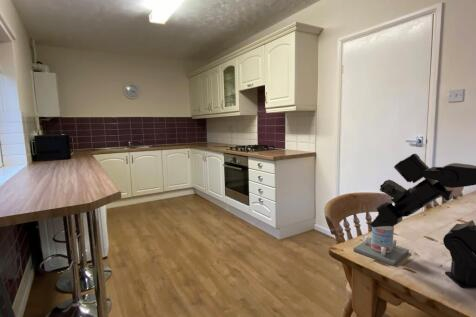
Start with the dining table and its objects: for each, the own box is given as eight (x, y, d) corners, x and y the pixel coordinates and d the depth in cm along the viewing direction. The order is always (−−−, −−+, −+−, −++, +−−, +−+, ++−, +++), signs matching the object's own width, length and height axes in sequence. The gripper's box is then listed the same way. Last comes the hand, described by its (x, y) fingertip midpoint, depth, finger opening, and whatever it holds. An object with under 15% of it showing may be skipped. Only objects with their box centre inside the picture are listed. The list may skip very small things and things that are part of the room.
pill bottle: (369, 250, 86) (371, 216, 84) (372, 243, 91) (374, 210, 89) (391, 255, 82) (393, 220, 81) (393, 247, 87) (395, 214, 86)
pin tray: (408, 252, 86) (409, 242, 86) (393, 265, 79) (394, 254, 78) (370, 240, 95) (370, 230, 95) (353, 251, 88) (353, 240, 87)
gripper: (411, 168, 86) (373, 195, 96) (386, 177, 74) (346, 207, 84) (438, 198, 81) (396, 223, 91) (417, 212, 69) (371, 239, 79)
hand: (377, 222), depth 87 cm, fingers open, 9 cm apart
